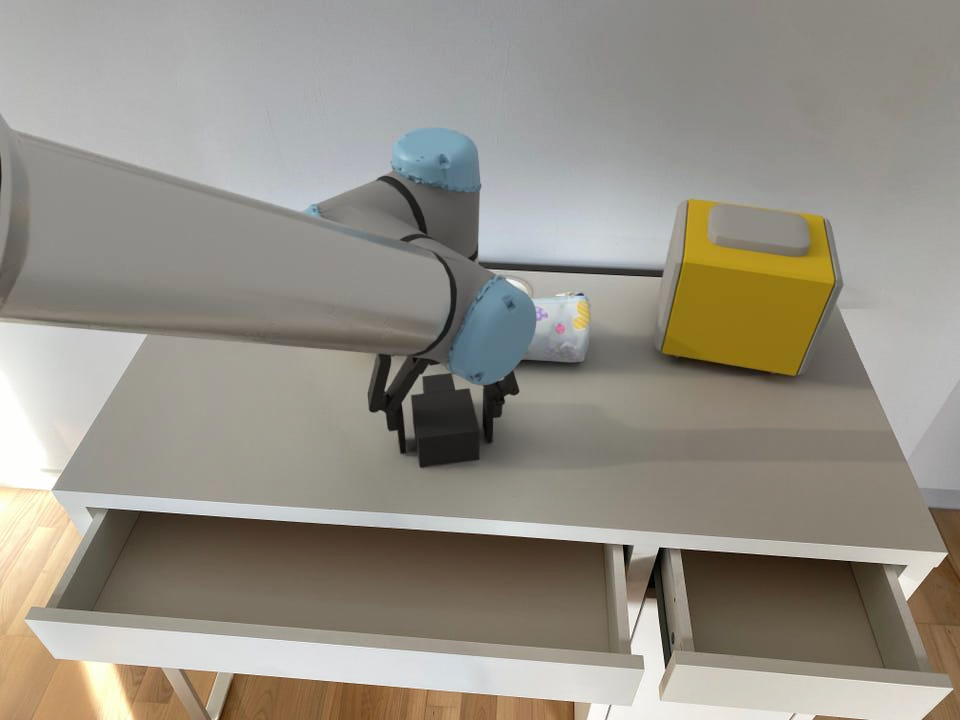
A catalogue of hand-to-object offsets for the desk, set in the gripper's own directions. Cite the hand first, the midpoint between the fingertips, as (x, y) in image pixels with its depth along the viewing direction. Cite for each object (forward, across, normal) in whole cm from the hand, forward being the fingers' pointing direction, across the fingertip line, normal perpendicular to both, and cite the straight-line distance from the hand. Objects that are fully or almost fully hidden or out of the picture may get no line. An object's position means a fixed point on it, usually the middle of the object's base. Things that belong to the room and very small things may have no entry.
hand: (445, 439), depth 86 cm
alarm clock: (+1, -41, -12) cm, 43 cm away
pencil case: (+1, -11, -14) cm, 18 cm away
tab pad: (0, 0, -1) cm, 1 cm away
